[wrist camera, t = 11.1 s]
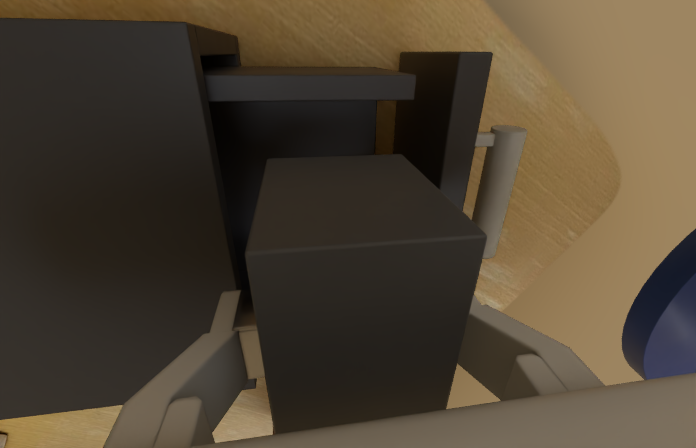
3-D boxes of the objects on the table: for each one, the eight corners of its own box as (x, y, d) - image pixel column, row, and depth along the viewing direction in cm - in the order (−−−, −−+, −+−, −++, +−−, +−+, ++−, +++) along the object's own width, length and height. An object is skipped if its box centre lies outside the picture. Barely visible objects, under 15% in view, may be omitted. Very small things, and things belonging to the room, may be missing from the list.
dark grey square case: (237, 36, 16) (186, 21, 8) (268, 277, 23) (255, 388, 15) (-143, 29, 14) (-665, 2, 6) (17, 297, 21) (-142, 437, 13)
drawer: (500, 53, 17) (610, 53, 11) (458, 262, 23) (513, 334, 17) (114, 48, 15) (-8, 46, 9) (182, 284, 21) (138, 377, 15)
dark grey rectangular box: (402, 153, 10) (489, 235, 5) (385, 342, 14) (429, 481, 9) (266, 158, 9) (243, 252, 5) (288, 353, 13) (285, 506, 9)
